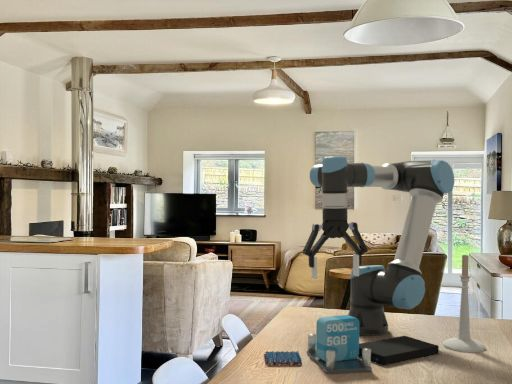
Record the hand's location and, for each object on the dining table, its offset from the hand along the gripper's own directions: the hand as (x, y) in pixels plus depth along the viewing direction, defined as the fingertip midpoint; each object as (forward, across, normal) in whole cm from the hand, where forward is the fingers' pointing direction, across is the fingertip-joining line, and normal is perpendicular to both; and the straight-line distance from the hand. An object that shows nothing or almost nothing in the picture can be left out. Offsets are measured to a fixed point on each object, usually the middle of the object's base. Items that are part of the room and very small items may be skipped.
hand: (335, 277), depth 175 cm
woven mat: (+24, +18, +4) cm, 30 cm away
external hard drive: (+25, -17, +4) cm, 30 cm away
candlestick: (+25, -43, +2) cm, 50 cm away
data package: (+22, +3, +8) cm, 24 cm away
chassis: (+23, +3, +8) cm, 25 cm away
